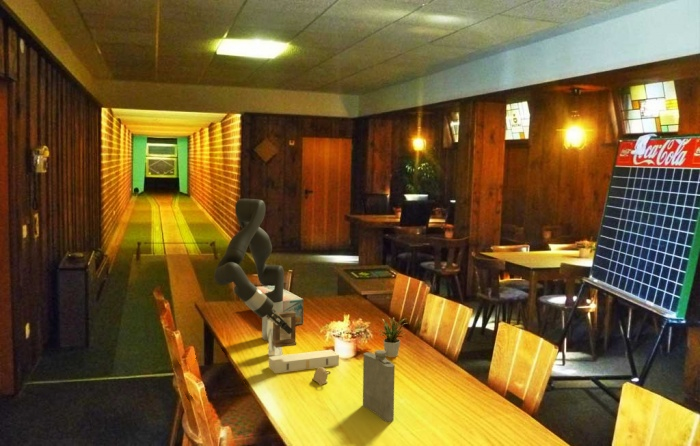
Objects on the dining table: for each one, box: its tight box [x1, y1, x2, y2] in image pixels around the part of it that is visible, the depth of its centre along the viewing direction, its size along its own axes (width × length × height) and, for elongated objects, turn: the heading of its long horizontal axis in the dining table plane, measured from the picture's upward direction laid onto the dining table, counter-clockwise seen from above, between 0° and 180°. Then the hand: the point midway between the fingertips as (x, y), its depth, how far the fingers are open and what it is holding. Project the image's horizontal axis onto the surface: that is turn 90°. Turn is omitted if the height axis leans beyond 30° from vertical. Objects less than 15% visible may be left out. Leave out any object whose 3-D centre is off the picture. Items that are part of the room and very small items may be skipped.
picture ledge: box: [268, 349, 340, 374], centre depth 247 cm, size 26×8×4 cm, turn 114°
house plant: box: [378, 316, 408, 358], centre depth 262 cm, size 14×14×16 cm
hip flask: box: [362, 349, 396, 423], centre depth 202 cm, size 16×4×20 cm, turn 29°
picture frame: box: [272, 311, 297, 348], centre depth 243 cm, size 8×5×12 cm, turn 114°
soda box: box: [256, 285, 304, 326], centre depth 325 cm, size 41×14×13 cm, turn 25°
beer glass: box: [267, 319, 284, 357], centre depth 261 cm, size 7×7×15 cm
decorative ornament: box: [311, 367, 331, 386], centre depth 229 cm, size 4×8×5 cm, turn 29°
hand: (289, 330), depth 244 cm, fingers closed on picture frame, 3 cm apart
